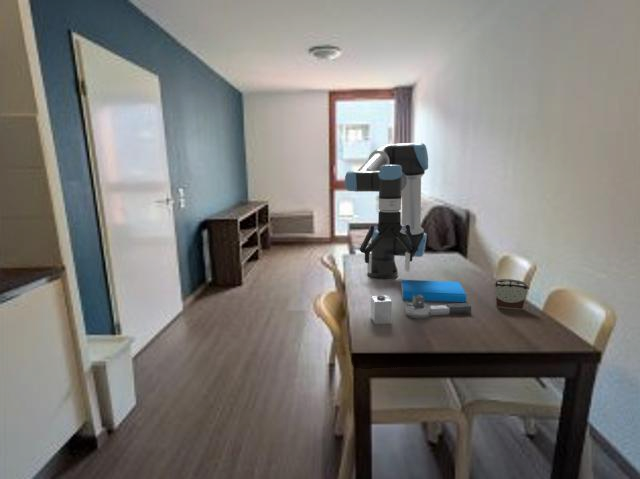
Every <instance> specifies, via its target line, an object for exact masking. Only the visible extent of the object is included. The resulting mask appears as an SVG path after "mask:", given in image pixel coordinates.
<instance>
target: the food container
mask: <svg viewBox="0 0 640 479" xmlns="http://www.w3.org/2000/svg"><path fill="white" fill-rule="evenodd" d="M493 288H494V289H495V307H496V308H502V309H511V310H521V309H522V310H523V311H524V307H525V304H526V298H527V293H528V290H529V291H530V286H529V284H528V283H527V282H525V281H522V280H518V279H511V278H509V279H508V278H501V279H500V278H499V279H496V280H495V281H494V283H493Z"/></svg>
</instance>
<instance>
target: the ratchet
mask: <svg viewBox="0 0 640 479" xmlns="http://www.w3.org/2000/svg"><path fill="white" fill-rule="evenodd" d="M471 312H472V306H471V304H468V303H467V302H452V303H445V304H443V305H430V304H428V303H425V300H424V297H423V296H422V295H413V300H412V301H411V302H408V303H406V304H405V315H406V316H407V317H409V318H411V319H414V320H415V319H418V320H425V319H428V318H430V317H431V316H441V315H442V316H445V315H451V316H452V315H465V314H466V315H467V314H468V315H469V314H472V313H471Z"/></svg>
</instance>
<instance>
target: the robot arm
mask: <svg viewBox="0 0 640 479" xmlns="http://www.w3.org/2000/svg"><path fill="white" fill-rule="evenodd" d="M428 169H429V155H428V149H427V146H426V145H425V143H422V142H406V143H405V142H403V143H389V144H385V145H382V146H380V147H378V148H377V149H374V151H372V152H371V153H370V155H369V156H368V158H367V160H366V161H365V162H364V163H363V165H361V167H360V168H359V169H358V170H351V171H350V170H349V171H347V172H346V173H345V176H344V186H345V189H346V190H347V192H354V193H357V192H358V193H359V192H375V193H376V192H377V193H378V210H379V211H378V220H377V221H378V222H377V225H373V224H370V225H368V231H367V233H366V235H365V237H364V239H363V241H362V243H361V245H360V248H359V252H361V253H362V254H364V263H366V264H367V269H366V270H367V276H368V277H370V278H373V279H383V280H384V279H387V280H388V279H394V278H396V277H398V275H399V270H398V268H397V264H396V260H395V257H397V256H398V257H404V259H405V261H404V270H405V271H406V272H410V270H411V269H410V268H411V266H410V265H411V262H412V261H413V258H414V257H415V258H421V257H423V256H424V253H425V250H426V244H427V236H428V233H426V232H425V231H424V230H425V229H424V228H423V227H422V226H421V224H422V223H421V218H422V216H421V214H422V211H421V210H422V201H421V200H422V177H423V176H424V175H425V174H426V170H428ZM400 210H401V211H400Z"/></svg>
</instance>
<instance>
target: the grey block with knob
mask: <svg viewBox="0 0 640 479" xmlns="http://www.w3.org/2000/svg"><path fill="white" fill-rule="evenodd" d="M392 308H393V304H392V300H391V298H390V297H389V295H386V294H385V295H371V296H370V319H371V320H372V322H373V324H374V325H381V324H382V325H384V324H387V325H388V324H389V325H390V324H392V316H393V315H392V310H393V309H392Z"/></svg>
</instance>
